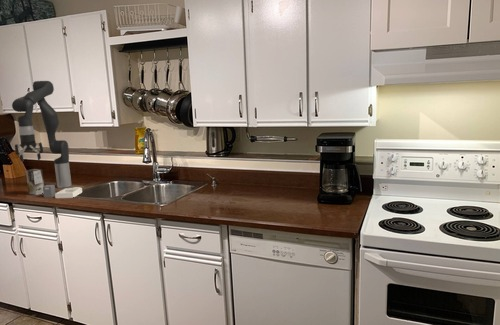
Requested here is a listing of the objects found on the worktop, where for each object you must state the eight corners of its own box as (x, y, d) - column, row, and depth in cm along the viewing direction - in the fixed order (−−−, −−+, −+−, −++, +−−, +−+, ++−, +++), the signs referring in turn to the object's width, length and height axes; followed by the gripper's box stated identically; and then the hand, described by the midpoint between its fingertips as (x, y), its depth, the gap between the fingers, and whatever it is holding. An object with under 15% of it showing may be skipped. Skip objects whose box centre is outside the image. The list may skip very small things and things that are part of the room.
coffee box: (45, 193, 250) (42, 169, 248) (36, 195, 245) (33, 171, 242) (37, 191, 255) (34, 168, 252) (28, 193, 249) (25, 170, 247)
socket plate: (65, 192, 249) (65, 187, 249) (82, 192, 250) (81, 186, 249) (55, 198, 236) (54, 192, 235) (73, 197, 236) (72, 192, 235)
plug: (48, 195, 244) (46, 184, 243) (55, 195, 244) (54, 184, 243) (43, 197, 239) (42, 186, 238) (51, 197, 239) (50, 186, 238)
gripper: (41, 132, 227) (45, 158, 230) (14, 133, 222) (18, 160, 225) (39, 133, 220) (43, 160, 223) (11, 135, 215) (15, 162, 218)
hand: (30, 160), depth 224 cm, fingers open, 8 cm apart
